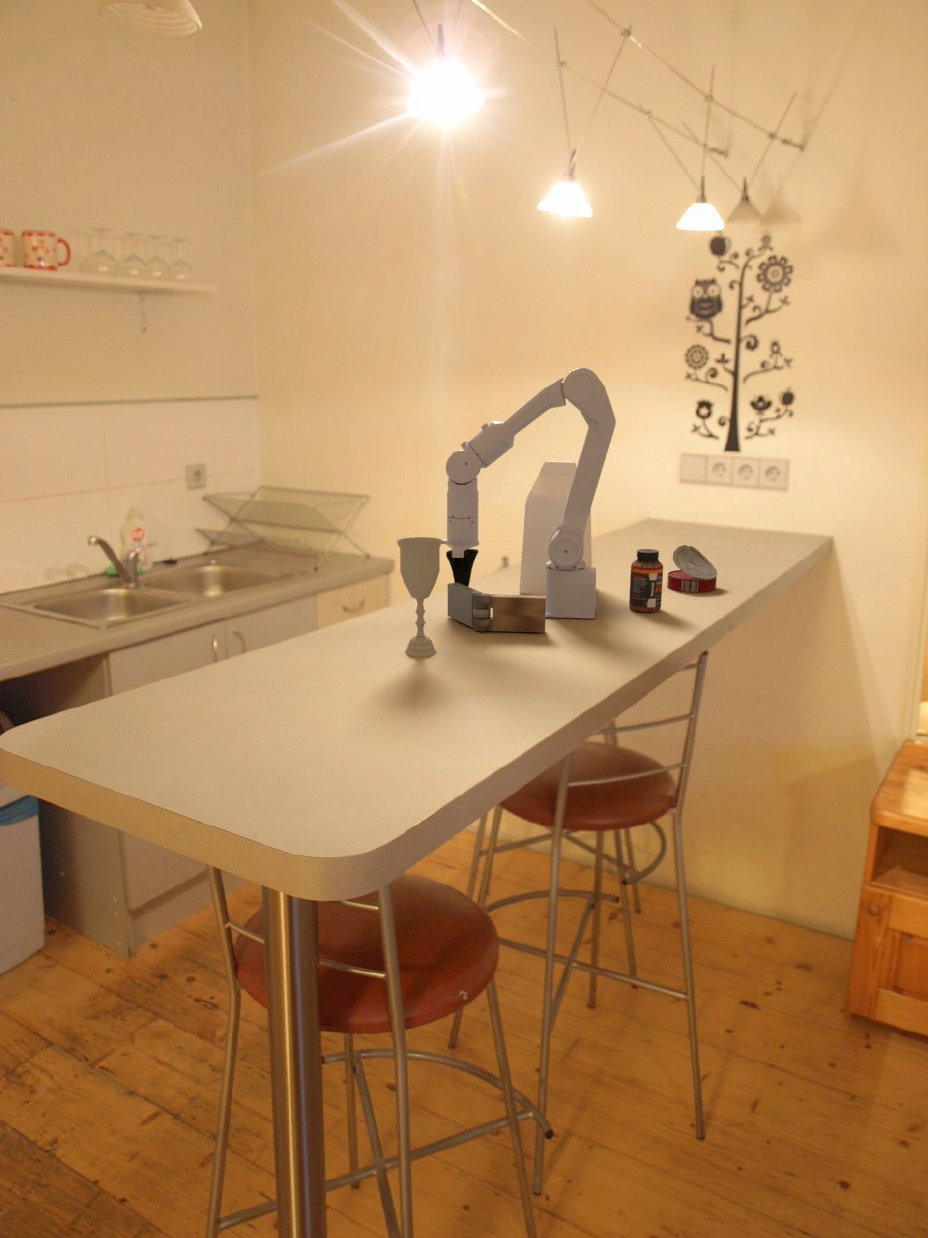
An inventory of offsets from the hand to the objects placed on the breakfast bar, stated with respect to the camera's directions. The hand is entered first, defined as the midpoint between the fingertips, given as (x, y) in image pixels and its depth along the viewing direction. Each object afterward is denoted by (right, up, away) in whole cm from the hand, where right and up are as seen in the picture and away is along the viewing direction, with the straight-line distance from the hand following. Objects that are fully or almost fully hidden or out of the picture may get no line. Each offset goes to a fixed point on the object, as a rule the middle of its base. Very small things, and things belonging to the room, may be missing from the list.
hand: (462, 589), depth 186 cm
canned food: (+47, 0, +21) cm, 52 cm away
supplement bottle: (+34, -4, +2) cm, 35 cm away
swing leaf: (+1, -6, -9) cm, 11 cm away
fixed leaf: (+8, -7, -14) cm, 17 cm away
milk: (+19, 0, +19) cm, 27 cm away
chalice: (-7, -11, -26) cm, 29 cm away
